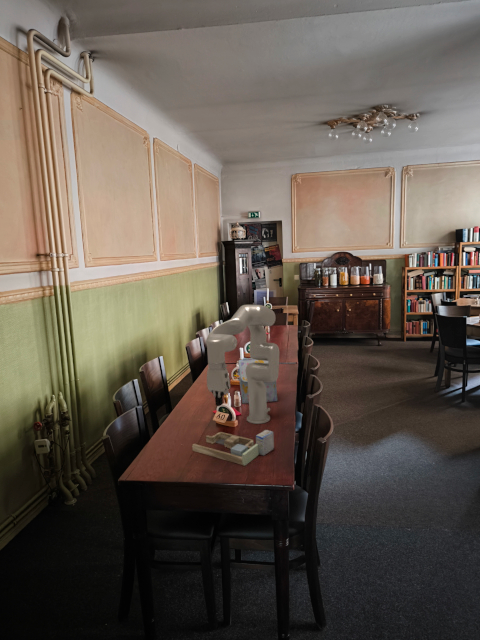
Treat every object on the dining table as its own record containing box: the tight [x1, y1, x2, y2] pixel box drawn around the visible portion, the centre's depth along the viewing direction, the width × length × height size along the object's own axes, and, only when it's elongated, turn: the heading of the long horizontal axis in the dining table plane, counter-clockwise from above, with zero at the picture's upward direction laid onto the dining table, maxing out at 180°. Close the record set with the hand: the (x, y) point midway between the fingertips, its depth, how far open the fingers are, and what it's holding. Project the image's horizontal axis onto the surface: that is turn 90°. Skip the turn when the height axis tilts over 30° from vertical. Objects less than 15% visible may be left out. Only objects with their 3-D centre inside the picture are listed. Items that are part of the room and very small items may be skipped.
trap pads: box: [215, 439, 245, 446], centre depth 205 cm, size 5×18×1 cm, turn 56°
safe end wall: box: [242, 443, 260, 466], centre depth 189 cm, size 11×1×5 cm, turn 146°
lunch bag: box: [237, 357, 278, 404], centre depth 261 cm, size 22×17×26 cm
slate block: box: [230, 444, 248, 457], centre depth 191 cm, size 6×6×5 cm
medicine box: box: [255, 429, 275, 456], centre depth 196 cm, size 8×4×9 cm, turn 141°
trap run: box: [191, 431, 255, 466], centre depth 200 cm, size 18×28×3 cm, turn 56°
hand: (219, 404), depth 194 cm, fingers closed
